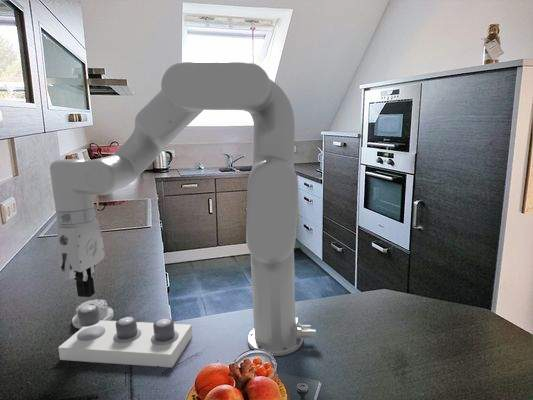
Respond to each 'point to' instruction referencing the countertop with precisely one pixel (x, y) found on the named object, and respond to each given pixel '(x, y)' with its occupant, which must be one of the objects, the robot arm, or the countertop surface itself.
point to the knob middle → (126, 328)
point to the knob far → (88, 315)
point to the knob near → (164, 329)
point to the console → (125, 345)
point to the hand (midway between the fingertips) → (86, 295)
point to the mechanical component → (104, 311)
